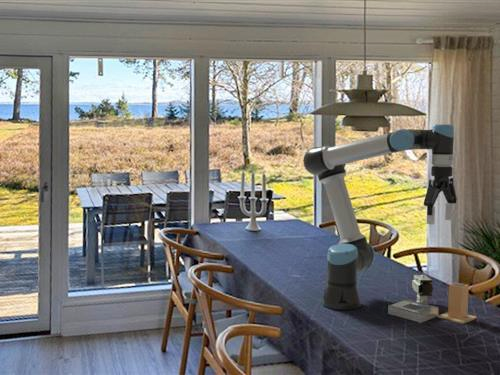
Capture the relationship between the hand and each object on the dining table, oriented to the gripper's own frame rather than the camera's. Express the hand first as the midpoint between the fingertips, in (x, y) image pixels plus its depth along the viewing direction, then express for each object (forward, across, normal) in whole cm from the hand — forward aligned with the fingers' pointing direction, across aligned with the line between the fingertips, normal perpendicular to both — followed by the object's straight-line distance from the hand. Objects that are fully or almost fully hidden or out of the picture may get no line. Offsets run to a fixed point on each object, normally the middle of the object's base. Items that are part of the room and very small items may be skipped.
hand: (439, 222), depth 217 cm
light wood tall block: (+34, -1, -9) cm, 35 cm away
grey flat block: (+35, -10, +4) cm, 36 cm away
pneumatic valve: (+35, +4, +9) cm, 36 cm away
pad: (+35, -1, -9) cm, 36 cm away
